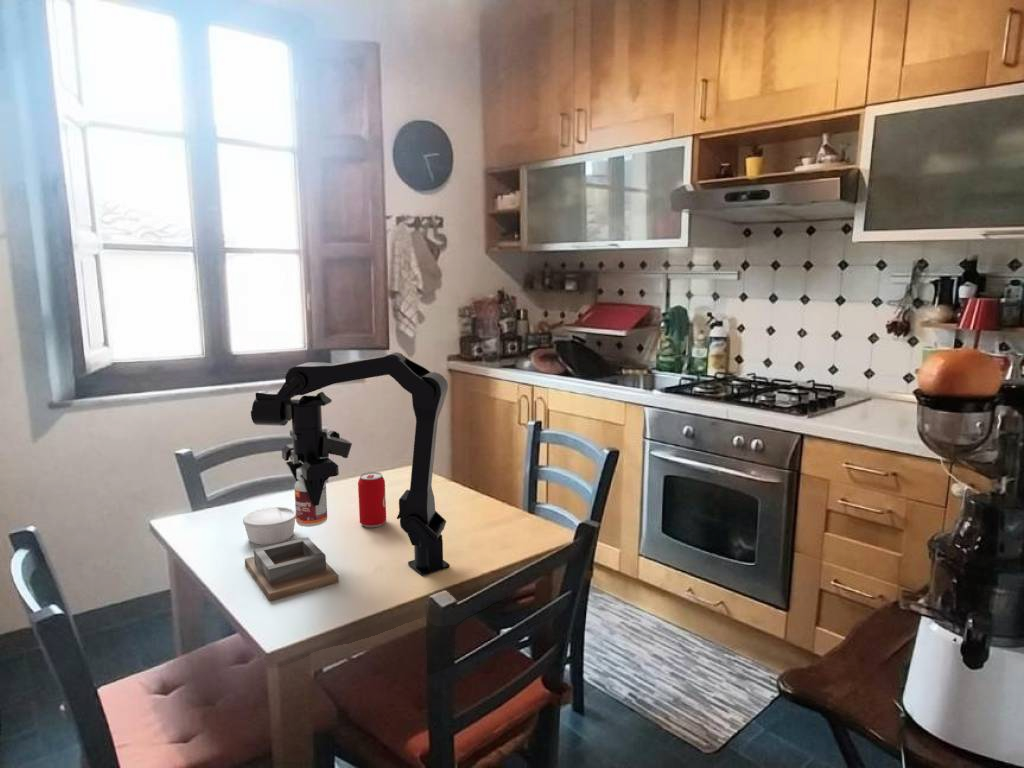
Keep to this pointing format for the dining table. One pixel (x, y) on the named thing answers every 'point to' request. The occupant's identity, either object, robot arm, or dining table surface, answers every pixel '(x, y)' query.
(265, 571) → the socket board
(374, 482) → the beverage can
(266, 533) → the ramekin
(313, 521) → the pill bottle
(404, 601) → the dining table surface
